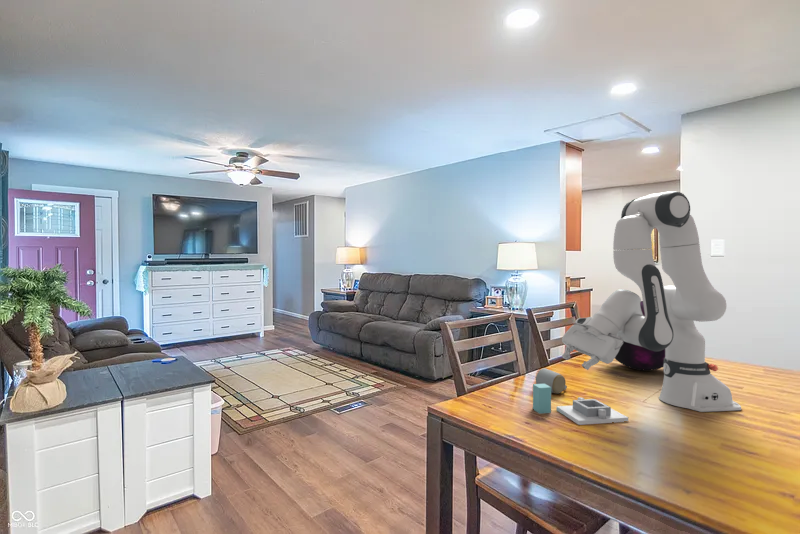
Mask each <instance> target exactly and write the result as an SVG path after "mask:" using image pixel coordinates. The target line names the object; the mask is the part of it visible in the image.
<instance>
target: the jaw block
mask: <svg viewBox="0 0 800 534" xmlns="http://www.w3.org/2000/svg"><path fill="white" fill-rule="evenodd" d="M533 409H534V410H533ZM532 410H533V411H535V412H536V413H538V414H541V415H542V414H551V413H552V392H551V387H550V386H548V385H546V384H536V383H534V384H532Z"/></svg>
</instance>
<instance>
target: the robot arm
mask: <svg viewBox="0 0 800 534" xmlns="http://www.w3.org/2000/svg"><path fill="white" fill-rule="evenodd" d="M620 216H621V217H620V219H619V220H618V221H617V222H616V224H615V228H614V234H613V244H612V245H613V247H612V248H613V254H612V255H613V257H612V258H613V263H614V268H615V269H616V270H617V272H619V273H620V274H621V275H622V276H624V277H626V278H627V279H629V280H631V281H632V282H634V283H635V285H637V286H638V287H639V289H640V290H639V291H640V292H641V297H640V296H639V295H638V294H637V293H635V292H633V291H631V290H629V289H622V288H621V289H617V290H615V291H613V292H612V293H611V294H610V295H609V296H608V297H607V298H606V299H605V301H604V302H603V303H602V304H601V305H600V306H601V307H600V309H599V310H598V311H597V312H595V313H594V314H593V315H592V316H588V317H579V318H577V319H576V320H575V321H574V324H573V325H571V326H570V327H569V328H568V329H567V330H566V332H565V333H564V334H563V336H562V337H561V342H562V343H563V344H564V345H565V348H564V352H563V354H562V355H561V357H562V358H563V360H566V361H569V360H570V358H571V352H573V351H574V350H575V351H576V352H578V353H581V354H584V355H586V356H588V357H590V359H588V360H587V361H583V362H582V363H581V367H583V369H585V370H586V371H588V370H590V369H591V367H592V366H596V365H597V364H599V362H602V363H605V364H609V365H610V363H612V362H613V361H614V360H615V357H616V355H617V354H618V352H619V350H620V347H621V346H622V344H623V341H624V342H627V343H631V344H634V345H638V346H641V347H644V348H646V349H649V350H652V351H662V350H664V349H665V358H664V363H663V367H662V368H663V380H662V387H661V390H660V394H659V395H658V399H659V400H660V401H661V402H663V403H666V404H668V405H672V406H675V407H679V408H683V409H684V408H685V409H689V410H693V411H696V412H699V413H700V412H701V413H705V412H706V413H708V412H709V413H710V412H726V411H728V412H730V411H731V412H732V411H741V410H742V406H741V405H740V404H739V403H738V402H736V400H735V401H734V400H733V394H732V392H731V391H732V390H731V389H730V387H729V386H727V385H726V384H725V383H724V382H722V381H721V380H719V379H718V378H717V377H715V375H713V374H712V373H711V371H713V372H717V371H718V370H719V367H718V365H716V364H714V363H708V362H706V339H705V337H704V336H703V335H702V333H700V331H699V330H698V329H697V327H696V324H695V322H699V323H700V322H714V321H717V320H719V319H721V318H722V317H723V316H724V315H725V313H726V311H727V300H726V298H725V297H724V295H723V294H722V293H721V292H719V291H718V290H717V289H716V288H715V287H714V285H712V283H711V282H710V280H709V278H708V276H707V274H706V272H705V269H704V266H703V261H702V255H701V254H702V253H701V245H700V244H701V243H700V237H699V233H698V227H697V225H696V222H695V220H694V217H693V216H692V214H691V204H690V201H689V199H688V198H687V196H686V195H685V194H684V193H683V192H680V191H674V190H673V191H668V190H667V191H664V192H657V193H651V194H647V195H645V196H642V197H639V198H634V199H631V200H630V201H628V202H627V203H625V204H624V206H623V208H622V211H621V215H620ZM654 229H656V230H657V232H658V234H659V236H658V239H659V251H660V261H661V268H662V270H663V272H664V274H666V276H669V278H670V279H671V281H672V283H673V285H672V284H671V285H664V284H663V283H664V282H663V277H662V273H661V272H660V270H659V268H658V267H657V266H656V264H655V260H654V256H653V242H652V232H653V231H654ZM641 301H643V305H644V312H645V316H643V314H642V311H641V307H640V302H641Z"/></svg>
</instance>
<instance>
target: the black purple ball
mask: <svg viewBox="0 0 800 534" xmlns="http://www.w3.org/2000/svg"><path fill="white" fill-rule="evenodd" d="M640 307H641V311H642V314H643V316H645V312H644V305H643V300H641V302H640ZM664 358H665V349H664V350H662V351H652V350H649V349H646V348H644V347H641V346H638V345H634V344H631V343H627V342H624V341H623V344H622V346H621V347H620V350H619V352H618V354H617V355H616V357H615V358H614V360H616V361H617V362H619V364H621V365H623V366H625V367H627V368H629V369H633V370H638V371H643V372H644V371H645V372H646V371H647V372H648V371H649V372H650V371H655V370H659V369H661V368H663V363H664Z"/></svg>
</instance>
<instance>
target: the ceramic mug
mask: <svg viewBox="0 0 800 534" xmlns="http://www.w3.org/2000/svg"><path fill="white" fill-rule="evenodd" d="M535 384H546V385H548V386H550V387H551V394H555V395H558V394H561V393H562V392H563V391H566V390H567V388H568V386H567V384H566V378H565V376H564V375H563V374H561V373H559V372H556V371H553V370H552V369H548V368H545V367H543V368H541V369H539V370H538V371H537V373H536V375H535Z"/></svg>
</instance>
